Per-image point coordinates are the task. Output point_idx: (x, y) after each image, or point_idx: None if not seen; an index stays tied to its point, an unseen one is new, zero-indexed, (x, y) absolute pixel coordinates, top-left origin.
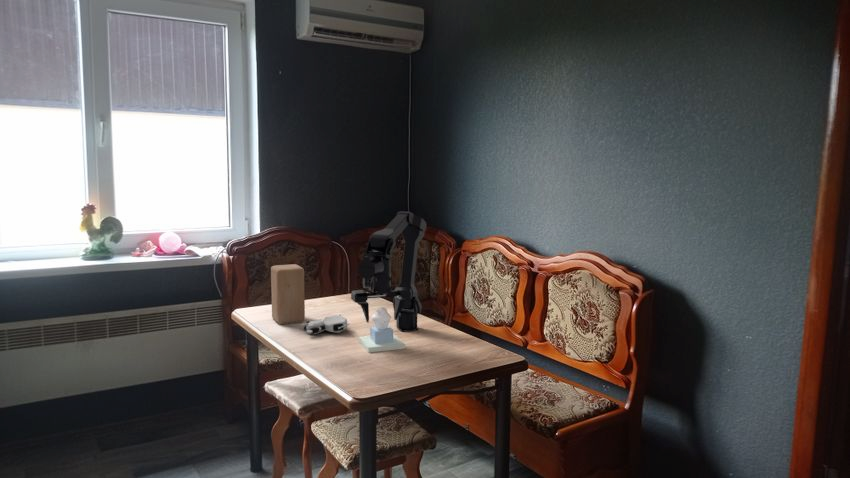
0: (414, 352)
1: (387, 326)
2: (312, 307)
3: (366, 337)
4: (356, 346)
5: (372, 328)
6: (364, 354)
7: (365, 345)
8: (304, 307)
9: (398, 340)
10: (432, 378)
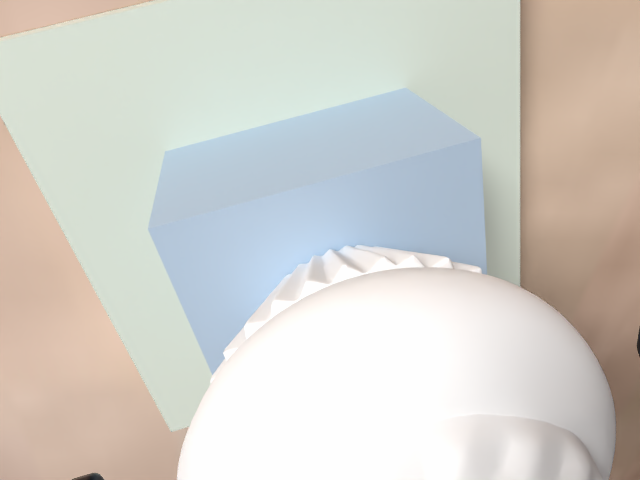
0: None
1: (456, 217)
2: None
3: (104, 89)
4: (15, 243)
5: (200, 322)
6: (144, 436)
7: (131, 350)
8: None
9: (494, 230)
10: None
